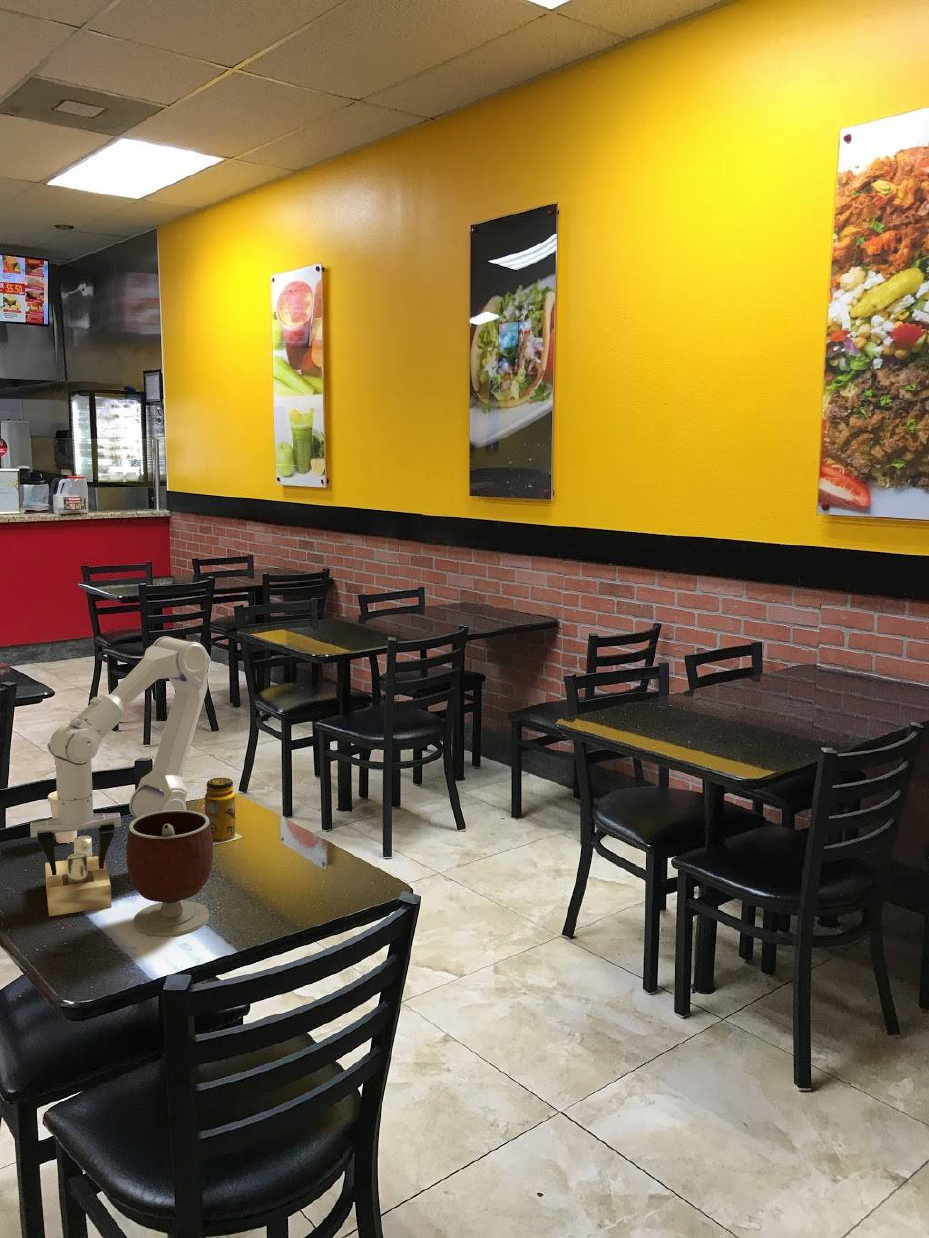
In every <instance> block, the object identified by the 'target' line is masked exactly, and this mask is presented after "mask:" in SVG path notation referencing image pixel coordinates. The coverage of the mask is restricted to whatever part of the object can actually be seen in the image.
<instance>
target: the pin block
mask: <svg viewBox="0 0 929 1238" xmlns="http://www.w3.org/2000/svg"><path fill="white" fill-rule="evenodd" d="M55 863H56V875H52V871H51V867H50V864H49V862H45V863H44V865H45V867H44V868H45V869H44V870H45V888H46V898H47V900H46V901H47V908H48V909H47V910H48V912H47V913H48V916H49V917H52V916H60V915H67V914H74V913H79V912H85V911H92V910H99V909H107V908H112V888H111V887H112V885H111V879H110V876H109V872H108V867H107V863H106V860H105V861H104V868H103V869H99V862H98V855H97V856H92V857H87V870H88V882H87V883H80V884H73V885H68V862H67V859H66V860H57V861H55ZM106 907H107V908H106Z"/></svg>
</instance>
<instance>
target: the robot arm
mask: <svg viewBox="0 0 929 1238" xmlns="http://www.w3.org/2000/svg"><path fill="white" fill-rule="evenodd" d="M211 660H212V659H211V657H210V655H209V653H208V652H207V650H206V648H205V646H204V645H202V643H200V642H196V641H189V640H182V639H178V638H175V637H171V636H168V635H167V636H161V637H159V638H157V639H156V640H155V641H154V642H153V644H152V645H150V646H149V647H147V648H146V650H145V652H144V655H143V658H142V659H141V660H140V661H139V662H138V663H137V665H136V666H135V667H134V668H133V669H132V670H131V671H130V672H129V673H128V674H127V675H126V676H125V678H123V680H122V681H121V682H120V683H119V684H118V685H117V686H116V688H115V689H114V690H112V692H111V693H110V694H99V695H98V696H93V697H92V699H91V700H90V701H89V703H90V704H88V705H87V707H86V708H85V709H84V710H82V711H81V712H80V713H79V714H78V715H77V716H76V717H73V718H71V720H70V723H69V725H68V724H67V725H64V726H63V725H62V726H60V727H58V728H57V729H56V730H55V731H54V732H53V733H52V735H51V738H50V740H49V741H50V742H49V743H47V750H48V752H49V754H50V755H51V756H53V758H54V765H55V778H56V779H55V781H56V791H57V806H58V818H50V819H46V820H41V821H35V822H30V823H29V824H30V825H29V826H30V827H29V828H30V838H37V842H38V844H39V846H40V847H41V849H42V851H43V852H44V855H45V857H46V859H47V861H48V863H49V864H50V867H51V871H52V875H56V863H55V862H56V859H55V838H54V837H55V836H54V834H55V833H61V832H69V831H77V832H78V831H83V830H93V829H97V833H98V834H97V836H98V855H97V856H98V862H99V869H103V868H104V861H105V862H106V856H107V852H108V849H109V848H110V845H111V843H112V840H114V839H113V838H114V837H115V833H116V831H115V828H121V826H122V823H121V821H122V820H121V819H122V818H121V814H120V812H111V813H109V812H108V813H107V812H106V813H102V812H101V813H94V803H93V802H94V801H93V800H94V799H93V798H94V796H93V776H92V775H93V774H92V773H93V772H92V771H93V770H92V759H94V758H95V757H96V755H97V753H98V750H99V747H100V746H99V745H100V744H101V742H102V740H103V739H104V738H105V737H106V736H107V735H108V734H109V733H110V732H111V731H112V730H113V729H114V728H115V727H116V726H117V725H118V724H119V723H120V722H121V721H122V720H123V719H124V718H125V710H126V709H125V708H126V707H127V706H128V705H129V704H131V703H132V702H133V701H134V700H135V699H136V698H137V697H139V696H141V694H142V693H143V692H144V691H145V690H147V689H148V688H149V687H151V685H153V684H154V683H155V682H156V681H157V680H161V679H168V680H169V681H170V683H171V685H172V686H173V688H174V690H175V692H174V695H173V699H172V701H171V702H172V703H171V706H170V708H169V712H168V715H167V719H166V722H165V725H164V728H163V732H162V735H161V738H160V743H159V746H158V748H157V752H156V756H155V759H154V762H153V766H152V770H151V771H150V772H148V773H147V774H146V775H144V776H143V777H141V778H140V781H139V783H138V787H136V789H135V791H134V792H133V793H132V795H131V796H130V800H129V804H128V805H129V812H130V813H131V815H132V816H133V817H134V818H135V819H136V818H138V817H140V816H143V815H146V814H149V813H154V812H159V811H167V810H187V805H186V804H187V803H186V801H187V800H186V799H187V795H188V790H187V787H186V786H185V783H184V782H183V780H182V777H183V773H184V770H185V766H186V762H187V758H188V755H189V752H190V749H191V746H192V745H191V744H192V742H193V738H194V735H195V733H196V730H197V729H196V728H197V725H198V722H199V718H200V715H201V711H202V709H203V708H202V707H203V704H204V702H205V701H204V700H205V698H206V695H207V691H208V670H209V666H210V664H211V663H210V662H211Z"/></svg>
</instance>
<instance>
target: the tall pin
mask: <svg viewBox="0 0 929 1238" xmlns="http://www.w3.org/2000/svg"><path fill="white" fill-rule="evenodd" d="M66 860H67V862H68V885H73V884H80V883H87V882H88V870H87V854H85V853H72V854H69V855H67V859H66Z"/></svg>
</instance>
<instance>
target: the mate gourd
mask: <svg viewBox="0 0 929 1238" xmlns="http://www.w3.org/2000/svg"><path fill="white" fill-rule="evenodd" d="M128 827H129V829H128V834H127V839H126V840H127V841H126V850H125V851H126V867H127V873H128V877H129V879H130V880H129V881H130V884H131V885H132V887H133V888H134V889H135V890H136V891H137V892H138V894H139V895H141V897H142V898H144V899H145V900H148V901H151V902H157V903H155V904H151V905H149V906H146V907H145V908H142V909H141V910H139V911H138V912H137V913H136V914H135V915H134V917H133V927H135V928H136V929H135V928H134V929H135V930H136V931H137V930H138V931H139V932H138V931H137V932H138V933H140V934H142V935H145V936H150V937H154V936H155V937H156V936H158V938H170V937H169V936H172V937H178V936H183V935H187V934H190V933H193V932H195V931H197V930H199V929H201V928H202V927H204V926H205V925H207V923H208V921H209V919H210V911H209V909H208V907H206V906H205V905H203V904H201V903H199V902H195V901H190V900H187V899H189V898H192V897H194V896H195V895H197V894H198V893H200V891H201V890H202V888H203V887H204V886H205V884H207V881H208V880H209V879H210V876H211V871H212V866H213V861H214V860H213V859H214V845H213V839H212V833H211V828H210V824H209V818H208V817H207V816H206V815H205V813H201V812H199V811H193V810H188V809H186V810H167V811H159V812H154V813H149V814H146V815H143V816H140V817H138V818H136V817H135V818H134V819H133V820H132V821H131V822H130V824H129V826H128ZM156 938H157V937H156Z"/></svg>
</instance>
